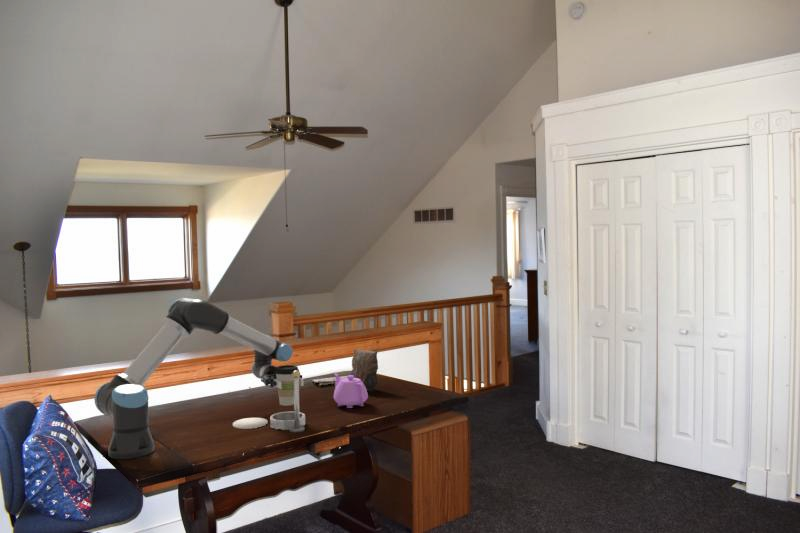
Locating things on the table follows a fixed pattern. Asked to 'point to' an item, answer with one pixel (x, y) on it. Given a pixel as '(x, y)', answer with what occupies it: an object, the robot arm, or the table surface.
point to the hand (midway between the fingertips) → (291, 383)
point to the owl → (365, 367)
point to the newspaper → (328, 380)
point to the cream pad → (250, 423)
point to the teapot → (350, 391)
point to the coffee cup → (286, 384)
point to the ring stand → (290, 413)
